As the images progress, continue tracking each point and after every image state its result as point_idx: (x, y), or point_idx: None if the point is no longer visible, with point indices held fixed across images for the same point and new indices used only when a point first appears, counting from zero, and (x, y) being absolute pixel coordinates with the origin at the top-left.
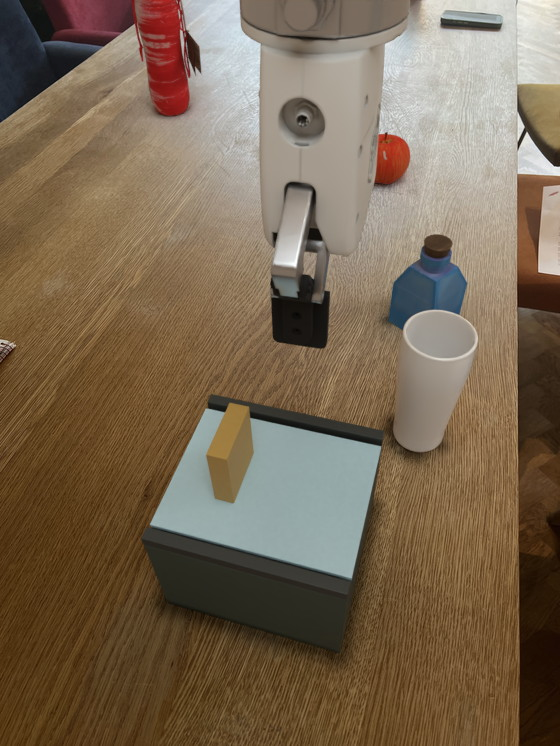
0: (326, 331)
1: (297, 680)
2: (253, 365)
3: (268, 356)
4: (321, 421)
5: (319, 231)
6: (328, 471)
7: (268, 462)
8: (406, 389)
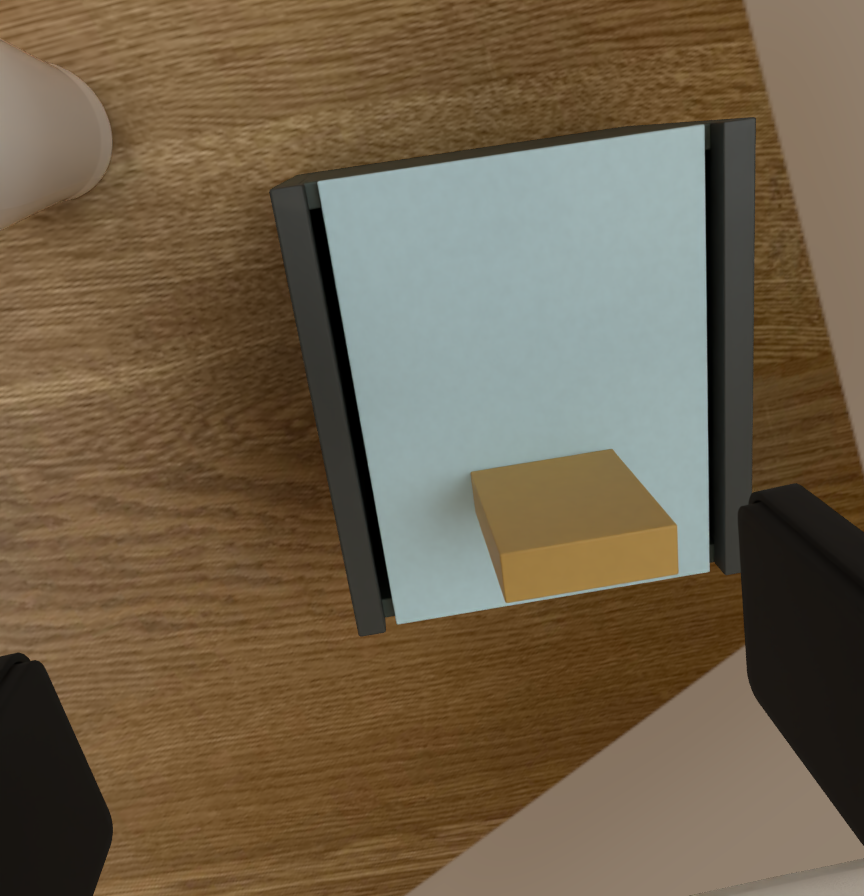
0: (852, 526)
1: None
2: (71, 576)
3: (25, 560)
4: (319, 363)
5: (64, 859)
6: (450, 286)
7: (483, 429)
8: (42, 184)
